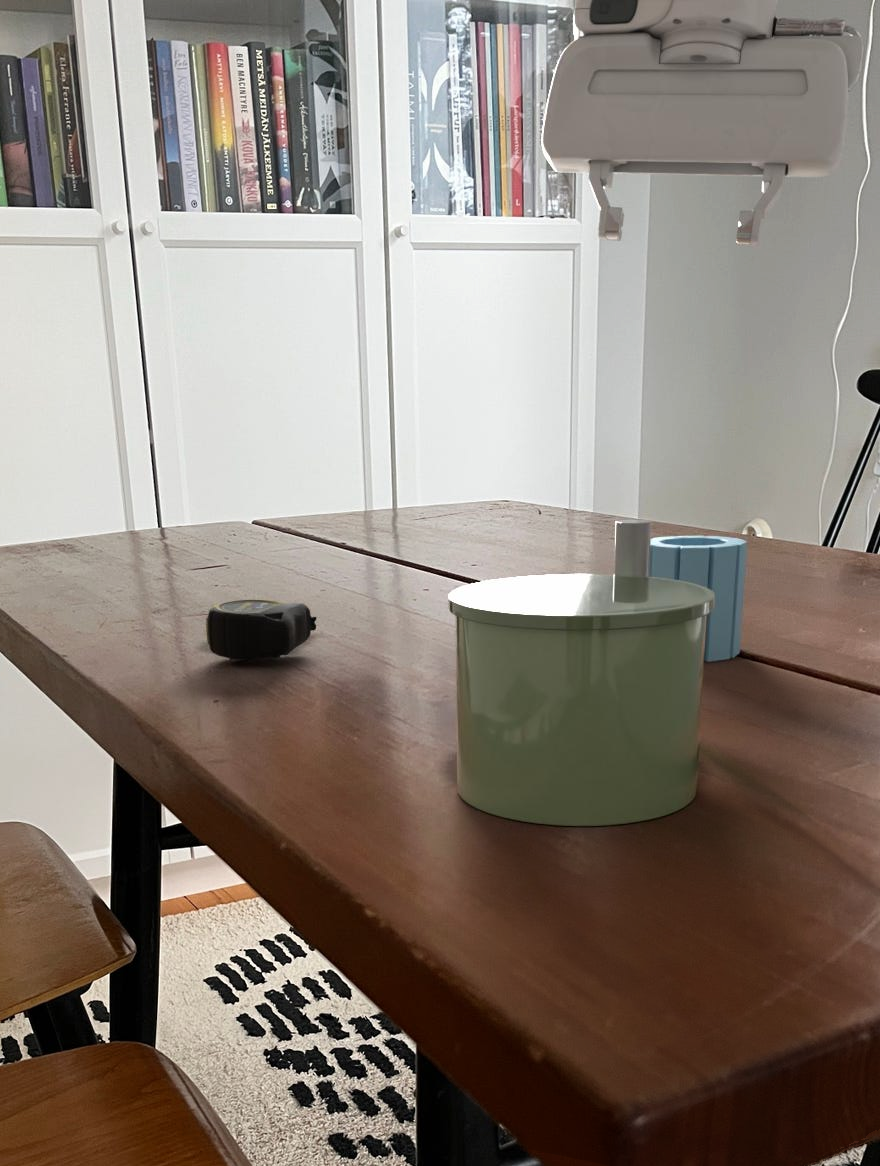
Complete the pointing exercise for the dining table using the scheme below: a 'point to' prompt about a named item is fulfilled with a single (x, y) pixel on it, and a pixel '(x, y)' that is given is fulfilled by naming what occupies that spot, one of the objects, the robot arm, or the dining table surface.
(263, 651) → the tape measure
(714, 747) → the dining table surface
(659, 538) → the blue grooved hollow cylinder
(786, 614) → the dining table surface
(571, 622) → the pot
